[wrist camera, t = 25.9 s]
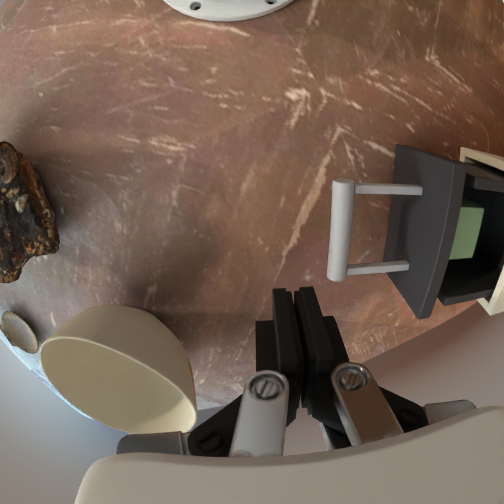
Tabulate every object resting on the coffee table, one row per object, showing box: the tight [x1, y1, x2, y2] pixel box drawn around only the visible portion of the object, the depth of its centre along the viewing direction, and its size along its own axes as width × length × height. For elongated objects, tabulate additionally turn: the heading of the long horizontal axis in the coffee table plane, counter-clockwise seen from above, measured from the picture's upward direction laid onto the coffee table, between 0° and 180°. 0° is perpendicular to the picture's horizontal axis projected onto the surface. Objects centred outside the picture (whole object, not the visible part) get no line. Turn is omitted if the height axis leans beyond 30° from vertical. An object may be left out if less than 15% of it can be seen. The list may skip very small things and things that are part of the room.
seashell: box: [0, 311, 39, 354], centre depth 29 cm, size 8×3×8 cm
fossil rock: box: [0, 141, 60, 283], centre depth 19 cm, size 14×14×6 cm
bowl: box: [39, 305, 197, 434], centre depth 25 cm, size 16×16×10 cm
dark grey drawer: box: [327, 144, 504, 319], centre depth 18 cm, size 20×11×8 cm, turn 93°
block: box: [449, 196, 484, 260], centre depth 19 cm, size 4×4×4 cm
